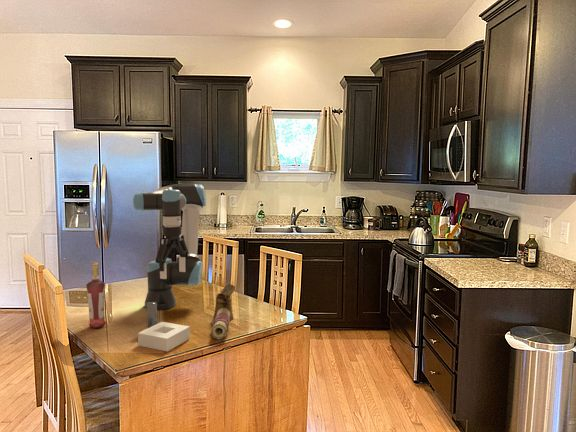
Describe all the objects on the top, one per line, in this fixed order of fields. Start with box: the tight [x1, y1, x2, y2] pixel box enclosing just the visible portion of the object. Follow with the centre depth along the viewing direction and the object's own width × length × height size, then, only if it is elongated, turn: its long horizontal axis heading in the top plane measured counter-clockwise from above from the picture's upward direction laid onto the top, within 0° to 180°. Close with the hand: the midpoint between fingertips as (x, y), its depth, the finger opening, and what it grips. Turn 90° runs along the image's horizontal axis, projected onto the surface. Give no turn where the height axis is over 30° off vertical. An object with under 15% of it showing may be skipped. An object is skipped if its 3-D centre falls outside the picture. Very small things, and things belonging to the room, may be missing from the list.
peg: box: [146, 301, 158, 329], centre depth 183 cm, size 4×4×12 cm
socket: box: [137, 321, 191, 352], centre depth 171 cm, size 14×14×5 cm
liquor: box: [86, 262, 107, 329], centre depth 187 cm, size 7×7×28 cm
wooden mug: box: [212, 284, 236, 321], centre depth 197 cm, size 9×14×18 cm, turn 29°
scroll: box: [210, 308, 231, 340], centre depth 183 cm, size 8×8×20 cm
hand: (173, 275), depth 186 cm, fingers open, 13 cm apart
